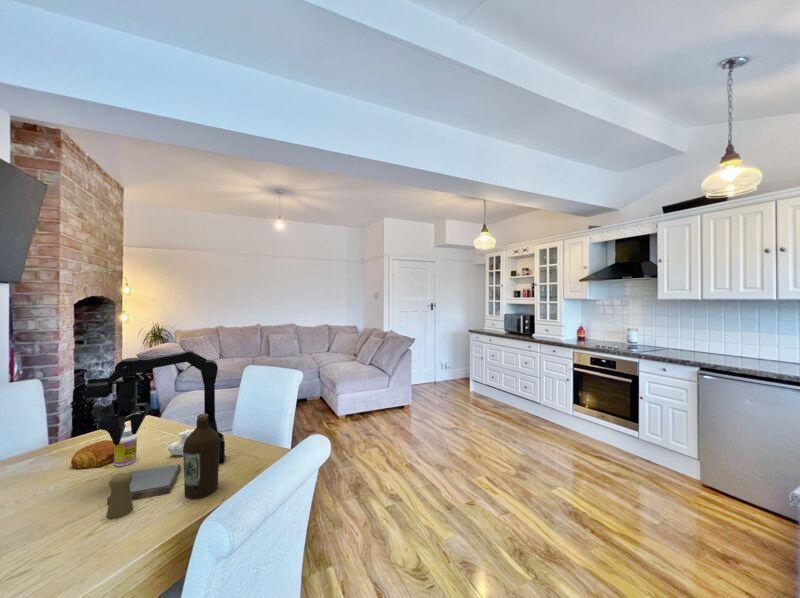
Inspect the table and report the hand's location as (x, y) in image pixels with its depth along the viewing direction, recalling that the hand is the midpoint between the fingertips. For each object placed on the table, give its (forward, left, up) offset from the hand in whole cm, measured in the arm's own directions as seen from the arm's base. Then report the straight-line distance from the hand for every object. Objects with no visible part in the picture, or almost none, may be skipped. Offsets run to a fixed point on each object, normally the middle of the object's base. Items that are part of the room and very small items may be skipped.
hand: (125, 439), depth 114 cm
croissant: (+15, -22, -15) cm, 30 cm away
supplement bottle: (+5, -16, -15) cm, 22 cm away
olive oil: (-26, +18, -15) cm, 34 cm away
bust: (-15, -16, -15) cm, 26 cm away
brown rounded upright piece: (-5, +21, -15) cm, 26 cm away
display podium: (-8, +7, -14) cm, 18 cm away
